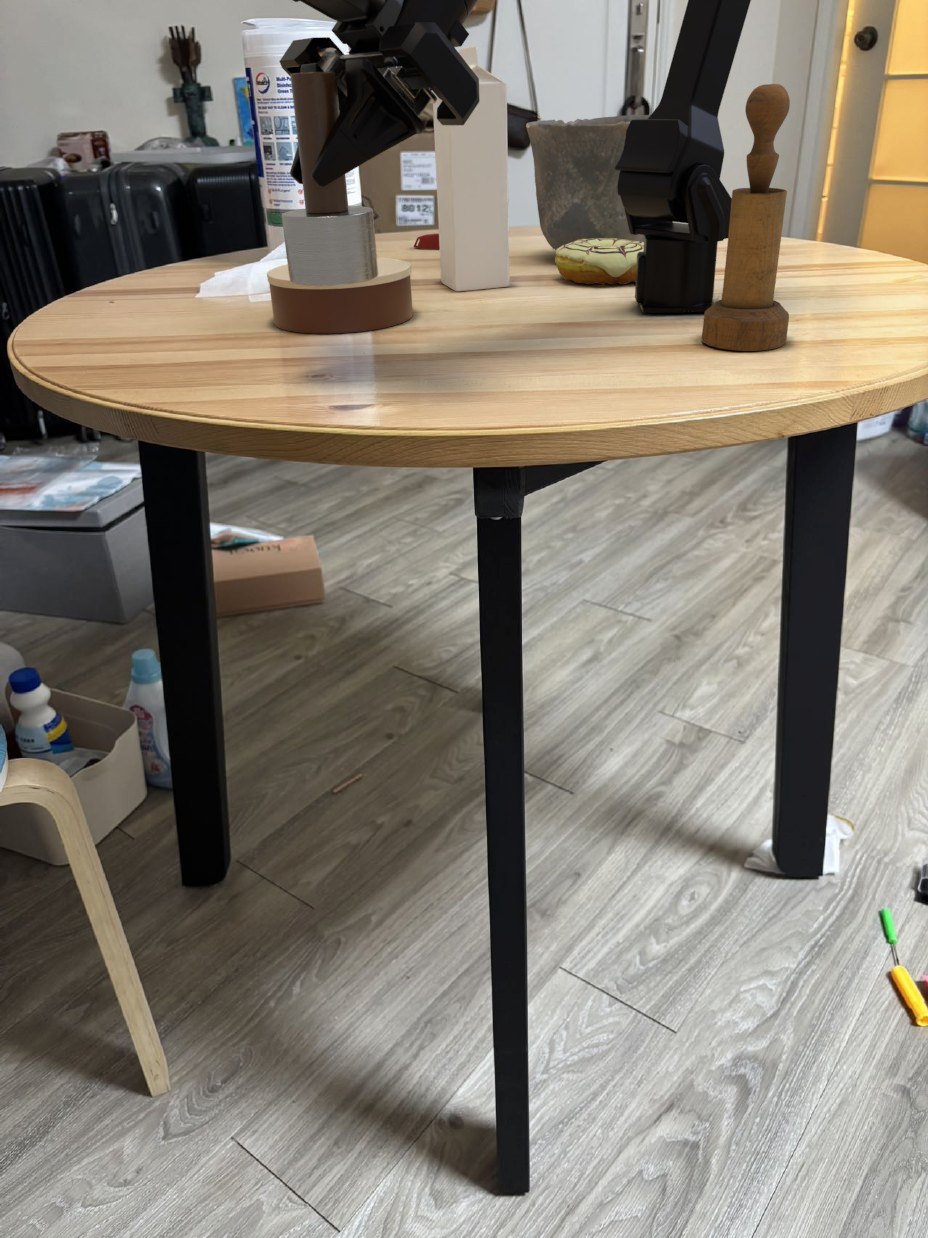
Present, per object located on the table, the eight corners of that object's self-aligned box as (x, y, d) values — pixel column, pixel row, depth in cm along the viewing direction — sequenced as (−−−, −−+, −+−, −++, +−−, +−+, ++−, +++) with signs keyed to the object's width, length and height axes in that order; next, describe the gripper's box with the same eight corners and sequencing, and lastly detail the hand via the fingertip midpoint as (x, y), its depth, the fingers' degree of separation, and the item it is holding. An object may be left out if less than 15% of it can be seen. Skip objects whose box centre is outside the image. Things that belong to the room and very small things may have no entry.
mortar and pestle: (774, 354, 73) (806, 83, 64) (690, 347, 76) (710, 86, 67) (794, 335, 78) (826, 81, 69) (715, 329, 81) (736, 84, 72)
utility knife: (498, 248, 126) (497, 232, 125) (495, 249, 125) (495, 233, 125) (415, 247, 130) (414, 231, 129) (412, 248, 129) (411, 232, 128)
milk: (455, 292, 101) (444, 47, 90) (440, 283, 106) (428, 49, 95) (511, 287, 102) (506, 44, 91) (493, 277, 107) (487, 47, 96)
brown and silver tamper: (388, 269, 72) (373, 70, 66) (363, 285, 67) (344, 69, 60) (307, 270, 73) (284, 74, 67) (276, 286, 68) (248, 74, 62)
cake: (422, 303, 96) (419, 255, 94) (402, 332, 85) (398, 279, 82) (293, 305, 97) (287, 258, 95) (256, 335, 86) (248, 282, 84)
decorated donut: (628, 290, 98) (630, 251, 96) (537, 283, 103) (537, 245, 101) (671, 273, 105) (674, 236, 103) (584, 267, 111) (585, 232, 109)
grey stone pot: (550, 245, 127) (551, 117, 120) (685, 246, 122) (695, 112, 114) (510, 267, 113) (508, 123, 105) (662, 270, 107) (670, 118, 100)
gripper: (288, -94, 68) (164, 92, 68) (427, -149, 54) (272, 85, 54) (394, 35, 75) (283, 203, 75) (541, 16, 61) (403, 221, 61)
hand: (305, 180), depth 66 cm, fingers closed on brown and silver tamper, 3 cm apart
